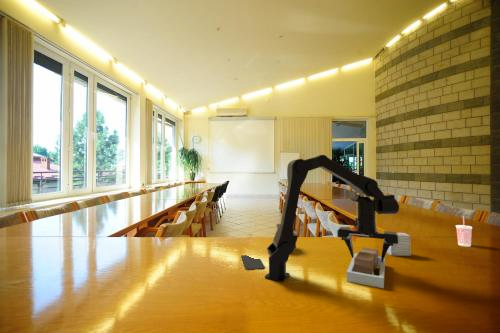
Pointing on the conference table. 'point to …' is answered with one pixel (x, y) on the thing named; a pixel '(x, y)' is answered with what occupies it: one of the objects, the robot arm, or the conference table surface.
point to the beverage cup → (464, 234)
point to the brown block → (366, 261)
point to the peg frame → (367, 275)
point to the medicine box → (401, 246)
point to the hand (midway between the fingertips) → (367, 259)
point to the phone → (252, 263)
